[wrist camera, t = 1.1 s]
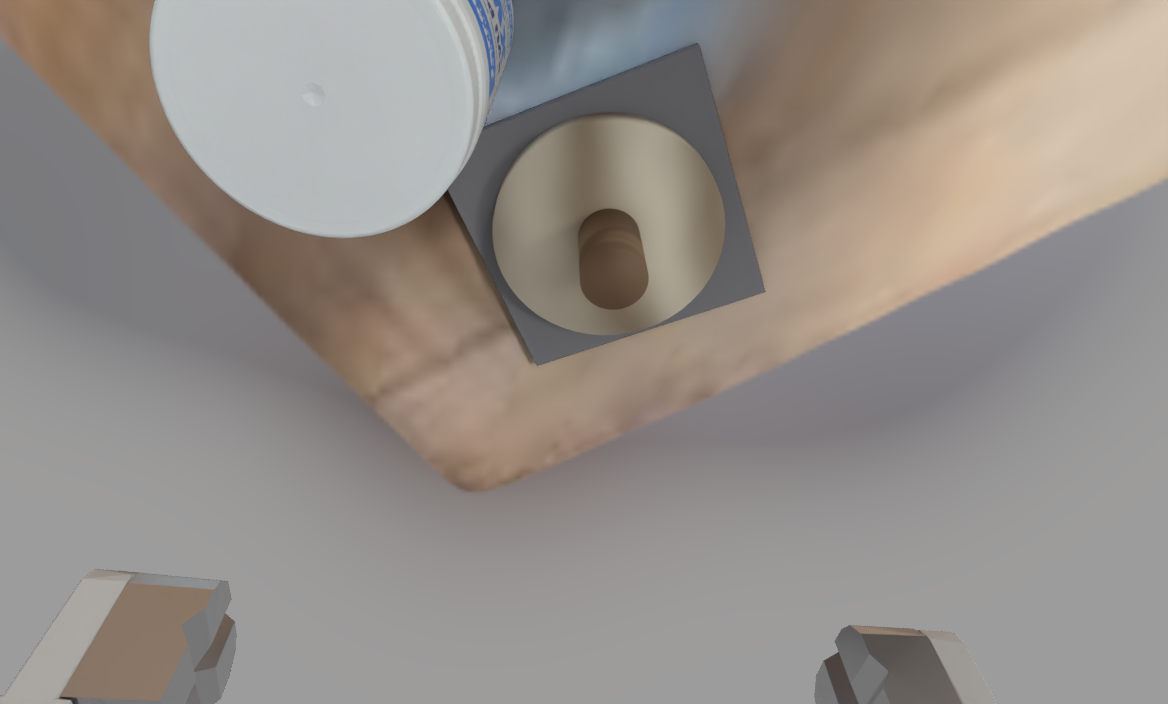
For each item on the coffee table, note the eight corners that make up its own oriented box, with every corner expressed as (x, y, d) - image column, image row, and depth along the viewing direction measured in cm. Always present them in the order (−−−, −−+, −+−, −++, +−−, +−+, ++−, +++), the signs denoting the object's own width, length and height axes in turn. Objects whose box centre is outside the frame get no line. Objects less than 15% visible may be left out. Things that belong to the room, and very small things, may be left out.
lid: (684, 74, 34) (705, 110, 29) (744, 282, 41) (769, 341, 36) (455, 163, 37) (438, 210, 32) (546, 347, 43) (543, 411, 38)
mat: (697, 43, 34) (699, 45, 34) (763, 286, 42) (765, 291, 41) (430, 148, 37) (428, 152, 36) (537, 360, 44) (536, 365, 44)
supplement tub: (557, 3, 33) (552, 84, 21) (436, 156, 37) (373, 301, 25) (374, -171, 29) (239, -195, 17) (261, 20, 33) (85, 111, 21)
